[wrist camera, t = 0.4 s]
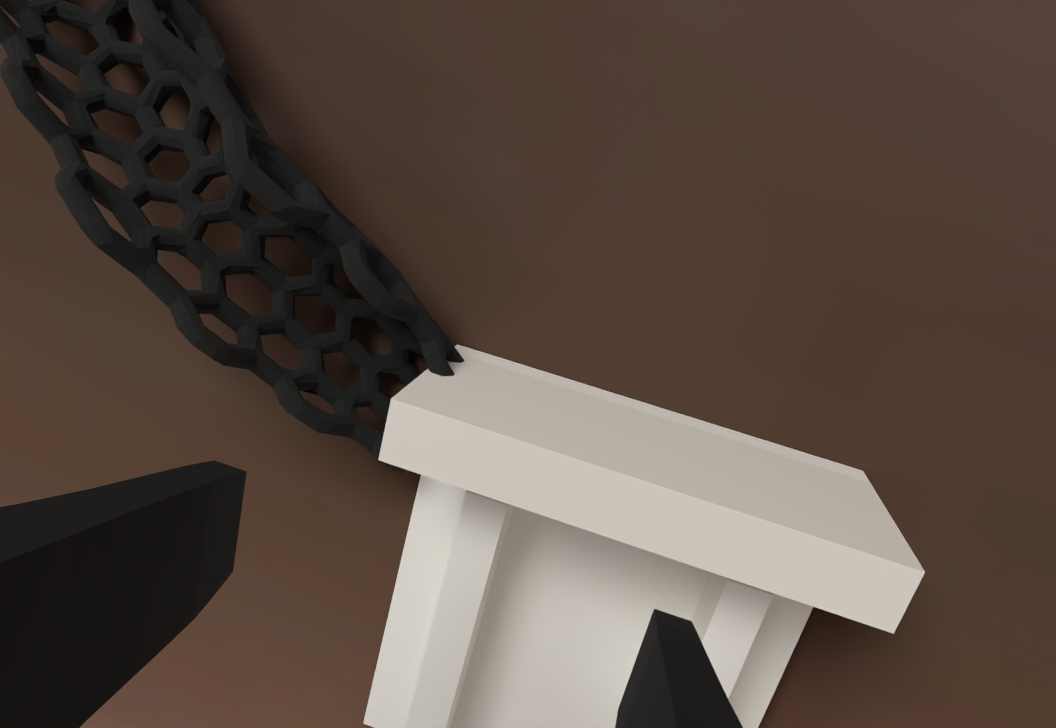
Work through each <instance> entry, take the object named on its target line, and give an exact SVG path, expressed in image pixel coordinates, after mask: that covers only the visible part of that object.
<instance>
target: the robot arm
mask: <svg viewBox="0 0 1056 728" xmlns="http://www.w3.org/2000/svg"><path fill="white" fill-rule="evenodd" d="M245 478H246V471H244V470H241V469H238V468H235V467H232V466H229V465H226V464H223V463H220V462H217V461H210V462H204V463H198V464H193V465H188V466H184V467H179V468H175V469H171V470H166V471H162V472H158V473H154V474H150V475H146V476H142V477H138V478H133V479H129V480H125V481H121V482H117V483H113V484H109V485H105V486H100V487H96V488H92V489H88V490H83V491H78V492H74V493H69V494H64V495H59V496H54V497H50V498H45V499H40V500H35V501H31V502H26V503H21V504H16V505H10V506H5V507H0V728H79V727H80V726H81V725H82V724H83V723H84V722H85V721H86V720H87V719H88V718H90V717H91V716H92V715H93V714H94V713H95V712H96V711H97V710H98V709H99V708H100V707H101V706H102V705H103V704H105V703H106V702H107V701H108V700H109V699H110V698H111V697H112V696H113V695H114V694H115V693H116V692H117V691H118V690H119V689H121V688H122V687H123V686H124V685H125V684H126V683H127V682H128V681H129V680H130V679H131V678H132V677H133V676H134V675H136V674H137V673H138V672H139V671H140V670H141V669H142V668H143V667H144V666H145V665H146V664H147V663H148V662H149V661H151V660H152V659H153V658H154V657H155V656H156V655H157V654H158V653H159V652H160V651H161V650H162V649H163V648H164V647H165V646H166V645H167V644H169V643H170V642H171V641H172V640H173V639H174V638H175V637H176V636H177V635H178V634H179V633H180V632H181V631H182V630H183V629H184V628H185V627H186V626H187V625H188V624H189V623H190V622H191V621H192V620H193V619H194V618H195V617H196V616H197V615H198V614H199V613H200V611H201V610H202V609H203V608H204V607H205V606H206V604H207V603H208V602H209V601H210V600H211V598H212V597H213V596H214V595H215V593H216V592H217V591H218V590H219V588H220V587H221V586H222V585H223V583H224V582H225V581H226V580H227V578H228V577H229V576H230V574H231V573H232V572H233V567H234V559H235V552H236V545H237V537H238V530H239V523H240V515H241V508H242V501H243V493H244V486H245ZM615 728H743V727H742V725H741V723H740V721H739V719H738V717H737V715H736V713H735V711H734V709H733V707H732V705H731V703H730V702H729V700H728V698H727V696H726V693H725V691H724V689H723V687H722V685H721V683H720V681H719V679H718V677H717V675H716V673H715V670H714V668H713V666H712V664H711V662H710V660H709V657H708V655H707V653H706V651H705V649H704V646H703V644H702V642H701V640H700V637H699V635H698V633H697V631H696V629H695V627H694V625H693V623H692V621H690V620H687V619H684V618H681V617H678V616H675V615H672V614H669V613H666V612H663V611H660V610H657V609H654V610H653V613H652V616H651V619H650V622H649V624H648V627H647V630H646V633H645V635H644V638H643V641H642V644H641V647H640V649H639V652H638V655H637V658H636V661H635V663H634V666H633V669H632V672H631V674H630V677H629V680H628V683H627V686H626V688H625V691H624V694H623V697H622V700H621V702H620V705H619V708H618V713H617V719H616V725H615Z"/></svg>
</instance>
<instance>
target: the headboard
mask: <svg viewBox="0 0 1056 728" xmlns="http://www.w3.org/2000/svg"><path fill="white" fill-rule="evenodd" d="M455 348H456V350H457V351H458V352H459V354H460V355H461V356H462V358H463V359H464V360H465V361H464V362H462V363H455V362H449V361H447V362H448V364H449V365H450V367H451V369H452V370H453V372H454V374H455V375H454V376H440V375H437V374H434V373H431V372H430V371H429V370H428V369H427V370H426V371H424V372H423V373H422V374H421V375H419V376H418V377H417V378H416V379H415V380H413V381H412V382H411V383H410V384H408V385H407V386H406V387H405V388H403V389H402V390H401V391H400V392H399V393H397V394H396V395H395V396H394V397H392V398H391V401H390V406H389V411H388V416H387V420H386V425H385V430H384V435H383V440H382V444H381V449H380V454H379V459H378V460H379V461H382V462H385V463H388V464H391V465H394V466H397V467H400V468H403V469H406V470H409V471H412V472H415V473H418V474H421V476H420V481H419V485H418V489H417V494H416V498H415V502H414V507H413V511H412V515H411V520H410V524H409V528H408V533H407V537H406V541H405V545H404V550H403V554H402V558H401V563H400V567H399V571H398V576H397V580H396V584H395V589H394V593H393V597H392V602H391V606H390V610H389V615H388V619H387V623H386V628H385V632H384V636H383V641H382V645H381V649H380V653H379V658H378V662H377V666H376V671H375V675H374V679H373V684H372V688H371V692H370V697H369V701H368V705H367V710H366V714H365V718H364V724H366V725H369V726H371V727H374V728H615V725H616V719H617V713H618V708H619V705H620V702H621V700H622V697H623V694H624V691H625V688H626V686H627V683H628V680H629V677H630V674H631V672H632V669H633V666H634V663H635V661H636V658H637V655H638V652H639V649H640V647H641V644H642V641H643V638H644V635H645V633H646V630H647V627H648V624H649V622H650V619H651V616H652V613H653V610H654V609H657V610H660V611H663V612H666V613H669V614H672V615H675V616H678V617H681V618H684V619H687V620H690V621H692V623H693V625H694V627H695V629H696V631H697V633H698V635H699V637H700V640H701V642H702V644H703V646H704V649H705V651H706V653H707V655H708V657H709V660H710V662H711V664H712V666H713V668H714V670H715V673H716V675H717V677H718V679H719V681H720V683H721V685H722V687H723V689H724V691H725V693H726V696H727V698H728V700H729V702H730V703H731V705H732V707H733V709H734V711H735V713H736V715H737V717H738V719H739V721H740V723H741V725H742V727H743V728H758V727H759V725H760V722H761V720H762V718H763V716H764V714H765V712H766V709H767V707H768V705H769V703H770V701H771V698H772V696H773V694H774V692H775V690H776V688H777V685H778V683H779V681H780V679H781V677H782V674H783V672H784V670H785V668H786V666H787V664H788V661H789V659H790V657H791V655H792V653H793V650H794V648H795V646H796V644H797V642H798V640H799V637H800V635H801V633H802V631H803V629H804V626H805V624H806V622H807V620H808V618H809V616H810V613H811V611H812V609H813V607H816V608H819V609H822V610H825V611H828V612H831V613H834V614H837V615H840V616H843V617H845V618H848V619H851V620H854V621H857V622H860V623H863V624H866V625H869V626H872V627H875V628H878V629H881V630H884V631H887V632H890V633H893V634H894V632H895V630H896V628H897V626H898V624H899V622H900V620H901V618H902V616H903V614H904V612H905V611H906V609H907V607H908V605H909V603H910V601H911V599H912V597H913V595H914V593H915V591H916V589H917V587H918V585H919V583H920V581H921V579H922V577H923V575H924V573H925V571H924V570H923V568H922V566H921V565H920V563H919V562H918V560H917V558H916V557H915V555H914V553H913V552H912V550H911V548H910V547H909V545H908V544H907V542H906V540H905V539H904V537H903V535H902V534H901V532H900V531H899V529H898V527H897V526H896V524H895V522H894V521H893V519H892V518H891V516H890V514H889V513H888V511H887V509H886V508H885V506H884V505H883V503H882V501H881V500H880V498H879V496H878V495H877V493H876V491H875V490H874V488H873V487H872V485H871V483H870V482H869V480H868V478H867V477H866V475H865V474H864V472H863V471H862V470H859V469H856V468H852V467H849V466H846V465H843V464H840V463H836V462H833V461H830V460H827V459H823V458H820V457H817V456H814V455H811V454H807V453H804V452H801V451H798V450H795V449H791V448H788V447H785V446H782V445H779V444H775V443H772V442H769V441H766V440H763V439H759V438H756V437H753V436H750V435H746V434H743V433H740V432H737V431H734V430H730V429H727V428H724V427H721V426H718V425H714V424H711V423H708V422H705V421H702V420H698V419H695V418H692V417H689V416H686V415H682V414H679V413H676V412H673V411H669V410H666V409H663V408H660V407H657V406H653V405H650V404H647V403H644V402H641V401H637V400H634V399H631V398H628V397H625V396H621V395H618V394H615V393H612V392H609V391H605V390H602V389H599V388H596V387H593V386H589V385H586V384H583V383H580V382H576V381H573V380H570V379H567V378H564V377H560V376H557V375H554V374H551V373H548V372H544V371H541V370H538V369H535V368H532V367H528V366H525V365H522V364H519V363H516V362H512V361H509V360H506V359H503V358H499V357H496V356H493V355H490V354H487V353H483V352H480V351H477V350H474V349H471V348H467V347H464V346H461V345H456V346H455Z"/></svg>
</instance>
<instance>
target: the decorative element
mask: <svg viewBox="0 0 1056 728" xmlns="http://www.w3.org/2000/svg"><path fill="white" fill-rule="evenodd" d="M0 7H1V8H3V9H4V10H5V11H6V12H7V13H8V14H10V15H11V16H12V17H13V18H14V19H15V20H17V22H18V24H19V26H20V28H21V29H19V28H18V27H17V26H16V25H15V24H14V23H13V22H12V20H11V19H10V18H9V17H8V16H7V15H6V14H5V13H4V11H3V10H2V9H1V8H0V43H1V44H2V45H3V47H4V49H5V51H6V53H7V55H8V57H9V58H6V59H4V61H3V63H2V65H1V77H2V79H3V81H4V83H5V85H6V87H7V89H8V91H9V93H10V95H11V97H12V99H13V101H14V103H15V105H16V106H17V108H18V109H19V110H20V111H21V112H22V113H23V114H24V116H25V117H26V118H27V119H28V120H29V121H30V122H31V124H32V125H33V126H34V127H35V128H36V129H37V130H38V131H39V133H40V134H41V135H42V136H43V137H44V138H45V139H46V141H47V142H48V143H49V144H50V145H51V147H52V149H53V152H54V154H55V156H56V158H57V161H58V163H59V165H60V167H61V169H60V171H59V172H58V173H57V174H56V175H55V184H56V189H57V191H58V193H59V194H60V196H61V197H62V199H63V201H64V202H65V204H66V205H67V207H68V209H69V210H70V212H71V213H72V215H73V217H74V218H75V220H76V222H77V223H78V225H79V226H80V228H81V229H82V230H83V231H84V233H85V234H86V235H87V237H88V238H89V239H90V240H91V242H92V243H93V244H95V245H96V246H97V247H98V248H99V249H101V250H102V251H103V252H105V253H106V254H107V255H109V256H110V257H111V258H113V259H114V260H115V261H117V262H118V263H119V264H121V265H122V266H123V267H125V268H126V269H127V270H129V271H130V272H131V273H133V274H134V275H135V276H137V277H138V278H139V279H140V280H141V281H142V282H143V283H144V284H145V285H146V286H147V287H148V288H149V289H150V290H151V291H152V292H153V293H154V294H155V295H156V296H157V297H158V298H159V299H160V300H161V301H162V302H163V303H164V304H165V305H166V306H168V307H169V308H170V311H171V313H172V316H173V318H174V321H175V323H176V326H177V328H178V329H179V330H180V332H181V333H182V334H183V335H184V336H185V337H186V339H187V340H188V341H189V342H190V343H191V344H192V345H193V346H195V347H196V348H198V349H199V350H200V351H202V352H203V353H205V354H206V355H208V356H209V357H211V358H212V359H213V360H215V361H217V362H219V363H220V364H222V365H225V366H231V367H237V368H242V369H248V370H250V371H251V372H253V373H254V374H255V375H257V376H258V377H259V378H261V379H262V380H263V381H265V382H266V383H267V384H269V385H270V386H271V387H273V389H274V391H275V393H276V395H277V398H278V400H279V402H280V404H281V405H282V406H283V408H284V409H285V410H286V411H287V412H288V413H290V414H291V415H293V416H294V417H296V418H297V419H299V420H300V421H302V422H303V423H305V424H306V425H308V426H310V427H311V428H313V429H314V430H316V431H317V432H319V433H326V434H332V435H339V436H346V437H350V438H351V439H353V440H355V441H357V442H358V443H360V444H361V445H363V446H365V447H366V448H367V449H368V450H369V451H370V452H371V453H372V454H373V455H374V456H376V457H377V458H378V459H379V454H380V449H381V444H382V440H383V435H384V432H380V431H377V430H376V429H374V428H373V427H371V426H369V425H368V424H366V423H365V422H363V421H361V420H360V419H359V417H358V413H357V410H356V407H367V406H368V407H369V408H370V409H371V410H372V411H374V412H375V413H376V414H377V415H378V416H380V417H381V418H382V419H383V420H384V421H386V420H387V416H388V411H389V406H390V401H391V399H390V398H389V397H387V396H386V395H385V394H384V393H383V392H382V391H381V377H380V374H393V375H395V376H397V377H399V378H400V380H401V381H402V382H403V383H404V385H405V386H407V385H408V384H410V383H411V382H412V381H413V380H415V379H416V378H417V377H418V376H419V375H421V373H420V372H419V371H418V370H417V369H416V368H415V366H414V365H413V364H412V363H411V351H413V352H415V353H417V354H420V355H422V356H424V358H425V361H426V364H427V367H428V370H429V371H430V372H431V373H434V374H437V375H440V376H454V375H455V374H454V372H453V370H452V369H451V367H450V365H449V364H448V362H447V361H449V362H455V363H462V362H464V361H465V360H464V359H463V358H462V356H461V355H460V354H459V352H458V351H457V350H456V348H455V347H454V345H453V344H452V343H451V341H450V340H449V339H448V337H447V336H446V335H445V333H444V332H443V331H442V330H441V328H440V327H439V326H438V325H437V323H436V322H435V321H434V320H433V319H432V317H431V316H430V315H429V314H428V313H427V311H426V310H425V309H424V308H423V306H422V305H421V303H420V302H419V300H418V299H417V297H416V296H415V294H414V292H413V291H412V289H411V287H410V286H409V284H408V283H407V282H406V280H405V279H404V277H403V276H402V275H401V273H400V272H399V271H398V269H397V268H396V267H395V266H394V265H393V264H392V263H391V262H390V260H389V259H388V258H387V257H386V256H385V255H384V254H383V252H382V251H381V250H380V249H379V248H378V247H377V246H376V245H375V244H374V243H373V242H372V241H371V240H370V239H369V238H368V237H367V236H366V235H365V234H363V233H362V232H361V231H360V230H359V229H358V228H357V227H356V226H355V225H354V224H353V223H352V222H351V221H350V220H349V219H348V218H347V217H346V216H345V215H344V214H343V213H342V212H341V211H340V210H339V209H337V208H336V207H335V206H334V205H333V203H332V202H331V201H330V200H329V199H328V198H327V197H326V196H325V194H324V193H323V192H322V191H321V190H320V189H319V188H318V186H317V185H316V184H315V183H314V182H313V181H312V180H311V179H310V178H309V177H308V176H307V175H306V174H305V173H304V171H303V170H302V169H301V168H300V167H299V166H298V165H297V164H296V163H295V162H294V161H293V160H292V159H291V158H290V157H289V156H288V155H287V154H286V153H285V152H284V151H283V150H282V149H281V148H280V147H279V146H278V145H277V144H276V143H275V142H274V141H273V140H272V139H271V138H270V137H269V135H268V134H267V132H266V130H265V128H264V127H263V125H262V123H261V121H260V120H259V118H258V116H257V114H256V113H255V111H254V109H253V107H252V106H251V104H250V102H249V100H248V99H247V97H246V95H245V94H244V92H243V90H242V89H241V87H240V85H239V83H238V82H237V80H236V78H235V77H234V75H233V72H232V70H231V67H230V64H229V62H228V59H227V57H226V54H225V52H224V50H223V48H222V46H221V44H220V42H219V40H218V38H217V36H216V34H215V32H214V30H213V29H212V27H211V25H210V23H209V21H208V20H207V18H206V16H205V14H204V12H203V10H202V8H201V6H200V5H199V3H198V1H197V0H104V1H103V3H102V4H101V5H100V6H99V8H98V9H97V10H96V11H95V12H93V11H91V10H88V9H85V8H83V7H80V6H77V5H75V4H72V3H69V2H67V1H66V0H34V1H30V2H29V1H28V0H0ZM128 12H129V13H130V15H131V17H132V19H133V21H134V23H135V25H136V27H137V29H138V31H139V33H140V34H141V36H142V37H143V42H142V45H139V44H134V43H128V42H123V41H121V39H120V38H119V36H118V34H117V32H116V30H115V29H116V27H117V26H118V25H119V23H120V22H121V21H122V19H123V18H124V17H125V15H126V14H127V13H128ZM56 20H58V21H60V22H63V23H66V24H68V25H71V26H73V27H76V28H78V29H81V30H84V31H86V32H89V33H91V34H93V35H94V37H95V39H96V40H97V42H98V44H99V47H98V48H96V49H95V50H94V51H92V52H91V53H89V54H88V55H86V56H85V55H83V54H82V53H80V52H78V51H76V50H74V49H73V48H71V47H69V46H67V45H65V44H64V43H62V42H60V41H58V40H57V39H55V38H54V37H53V36H52V35H51V34H50V33H49V31H48V29H47V27H46V25H45V23H49V22H52V21H56ZM173 28H174V29H175V31H176V33H177V34H178V36H179V39H178V38H177V37H176V36H175V35H173V34H172V33H171V31H172V29H173ZM35 54H39V55H41V56H43V57H45V58H47V59H49V60H50V61H52V62H54V63H56V64H58V65H59V66H61V67H63V68H65V69H67V70H69V71H70V72H72V73H74V74H76V75H77V76H78V77H80V79H81V81H82V83H83V85H84V87H85V90H82V91H80V92H77V93H74V92H72V91H71V90H70V89H69V88H68V87H66V86H65V85H64V84H63V83H62V82H60V81H59V80H58V79H57V78H56V77H54V76H53V75H52V74H51V73H50V72H48V71H47V70H46V69H45V68H44V67H42V66H41V65H40V63H39V61H38V59H37V57H36V55H35ZM119 63H121V64H127V65H133V66H139V67H144V68H145V70H146V72H147V74H148V76H149V78H150V81H149V83H148V84H147V86H146V87H145V89H144V90H143V92H142V93H141V94H140V96H139V97H136V96H133V95H130V94H127V93H124V92H121V91H118V90H115V89H113V88H112V87H111V86H110V85H109V84H108V82H107V80H106V78H105V76H104V74H105V73H106V72H108V71H109V70H110V69H112V68H113V67H115V66H116V65H118V64H119ZM167 63H168V64H169V65H170V66H171V67H172V68H174V69H175V70H170V69H169V67H168V65H167ZM36 90H37V91H38V92H39V93H40V94H41V95H43V96H44V97H45V98H46V99H48V100H49V101H50V102H51V103H52V104H54V105H55V106H56V107H57V108H59V109H60V110H61V111H62V112H63V113H64V116H65V118H66V120H67V122H68V125H69V127H68V126H67V125H66V124H64V123H63V122H62V121H61V120H60V119H59V118H58V117H57V116H56V114H55V113H54V112H53V111H52V110H51V109H50V108H49V107H48V105H47V104H46V103H45V102H44V101H43V100H42V99H41V98H40V96H39V95H38V94H37V91H36ZM178 92H186V94H187V96H188V98H189V100H190V111H189V115H188V118H187V121H186V124H185V127H184V131H182V130H176V129H171V128H166V127H165V125H164V123H163V120H162V118H161V116H160V114H159V113H160V111H161V110H162V108H163V106H164V105H165V103H166V101H167V100H168V98H169V97H170V96H171V94H172V93H178ZM102 109H106V110H110V111H113V112H116V113H119V114H122V115H126V116H129V117H132V118H135V119H137V121H138V123H139V125H140V128H141V130H142V132H143V134H142V135H140V136H139V137H138V138H137V139H136V140H135V141H134V142H133V143H132V144H131V145H130V146H129V145H127V144H125V143H123V142H121V141H120V140H118V139H116V138H114V137H112V136H110V135H108V134H107V133H105V132H103V131H101V130H100V129H99V127H98V126H97V124H96V123H95V121H94V119H93V118H92V116H91V114H92V113H95V112H97V111H100V110H102ZM214 118H216V120H217V121H218V123H219V124H220V126H221V130H222V136H221V143H220V151H219V153H216V154H211V155H210V152H209V150H208V147H207V145H206V142H207V138H208V135H209V132H210V128H211V125H212V122H213V120H214ZM82 149H83V150H87V151H90V152H94V153H97V154H101V155H103V156H105V157H106V158H108V159H110V160H112V161H113V162H115V163H117V164H119V165H120V166H122V167H123V169H124V172H125V174H126V176H127V179H128V181H129V183H130V184H128V185H127V186H125V187H124V188H122V189H120V188H118V187H117V186H116V185H114V184H113V183H111V182H110V181H109V180H107V179H106V178H105V177H103V176H102V175H101V174H99V173H98V172H97V171H95V170H94V169H92V168H91V167H90V166H89V164H88V162H87V160H86V158H85V156H84V154H83V152H82ZM162 150H169V151H176V152H183V153H185V154H186V156H187V159H188V161H189V163H190V165H191V167H190V168H189V169H188V171H187V172H186V173H185V175H184V176H183V177H182V178H181V180H180V181H179V182H174V181H168V180H161V179H155V178H154V176H153V174H152V172H151V170H150V168H149V165H148V163H149V162H150V161H151V160H152V159H153V158H154V157H155V156H156V155H157V154H158V153H159V152H160V151H162ZM223 175H227V177H228V178H229V180H230V182H229V186H228V189H227V192H226V195H225V199H222V200H214V201H207V202H204V201H203V199H202V198H201V196H200V193H201V192H202V191H203V190H204V189H205V187H206V186H207V185H208V184H209V183H210V182H211V180H212V179H213V178H216V177H220V176H223ZM251 195H252V196H253V197H254V198H255V199H256V200H257V201H258V202H259V203H261V204H262V205H263V206H264V207H265V208H266V209H267V210H268V211H269V212H271V213H272V214H273V215H274V216H257V215H256V214H255V213H254V212H253V211H252V210H251V209H250V208H249V207H247V206H248V203H249V200H250V197H251ZM91 197H92V198H93V199H94V200H96V201H97V202H98V203H100V204H101V205H102V206H104V207H105V208H107V209H108V210H109V211H111V212H112V213H113V215H114V216H115V217H116V219H117V220H118V221H119V223H120V224H121V226H122V227H123V228H124V230H125V231H126V233H127V234H128V235H129V237H130V238H131V242H130V241H128V240H127V239H126V238H124V237H123V236H122V235H120V234H119V233H118V232H116V231H115V230H114V229H112V228H111V227H110V226H109V224H108V223H107V221H106V220H105V218H104V217H103V215H102V214H101V212H100V211H99V209H98V208H97V206H96V205H95V203H94V202H93V200H92V198H91ZM150 200H153V201H160V202H168V203H175V204H178V205H179V207H180V208H181V209H182V210H183V211H184V213H185V214H186V216H185V218H184V221H183V224H182V226H181V229H180V230H175V229H169V228H163V227H157V226H152V224H151V223H150V222H149V220H148V219H147V217H146V216H145V215H144V213H143V212H142V211H141V209H140V208H141V207H142V206H143V205H145V204H146V203H147V202H149V201H150ZM231 220H232V221H233V222H234V223H235V224H236V225H237V226H238V227H239V228H240V229H241V230H243V232H242V252H235V253H226V254H215V253H214V252H213V251H212V250H210V249H209V248H208V247H207V246H206V245H205V244H204V243H203V242H202V241H201V239H202V237H203V235H204V233H205V230H206V228H207V226H208V224H210V223H217V222H224V221H231ZM311 227H312V228H315V229H316V230H317V231H318V232H320V233H321V234H322V235H323V236H324V237H325V238H326V239H327V240H328V241H330V242H331V243H328V242H327V241H325V240H324V239H323V238H322V237H321V236H320V235H319V234H318V233H316V232H315V231H314V230H313V229H312V228H311ZM265 237H290V238H291V239H292V240H293V241H294V242H295V243H296V244H298V245H299V246H300V247H301V248H302V249H303V250H304V251H306V252H307V253H308V254H309V255H310V256H311V257H312V275H305V276H294V277H291V276H289V275H286V274H284V273H283V272H282V271H280V270H279V269H278V268H277V267H276V266H274V265H273V264H272V263H271V262H269V261H268V260H267V259H266V258H265V257H264V255H265ZM158 250H164V251H171V252H177V253H179V254H180V255H182V256H184V257H186V258H187V259H188V260H189V261H190V262H191V263H192V264H193V265H194V266H196V267H197V268H198V269H199V270H200V271H201V282H202V290H185V289H184V288H183V287H182V286H181V285H180V284H179V283H178V282H177V281H176V280H175V279H174V278H173V277H172V276H171V275H170V274H169V273H168V272H167V271H166V270H165V269H164V268H163V267H162V266H161V265H160V264H159V263H158V261H157V252H158ZM334 265H340V266H344V271H345V273H346V275H347V277H348V278H349V280H350V282H351V283H352V284H353V286H354V287H355V289H356V290H357V291H358V292H359V293H360V294H361V296H362V297H363V298H364V299H365V300H360V299H355V298H351V297H349V296H348V295H347V294H346V293H345V292H344V291H343V290H342V289H341V288H339V287H338V286H337V285H336V284H335V283H334V282H333V267H334ZM242 273H248V274H250V275H253V276H254V277H256V278H257V279H258V280H259V281H260V282H262V283H263V284H264V285H265V286H267V287H268V288H269V289H270V290H271V291H272V308H273V313H268V314H258V315H250V314H248V313H247V312H246V311H245V310H243V309H242V308H241V307H239V306H238V305H237V304H236V303H234V302H233V301H232V300H231V299H229V298H228V297H227V294H226V280H225V275H233V274H242ZM316 295H318V296H319V297H320V298H321V299H323V300H324V301H325V302H326V303H327V304H328V305H329V306H330V307H331V308H332V309H333V310H334V311H335V312H336V324H335V332H331V333H322V334H313V333H312V332H311V331H310V330H308V329H307V328H306V327H305V326H304V325H302V324H301V323H300V322H299V321H298V320H296V319H295V318H294V308H295V296H316ZM199 313H202V314H213V315H214V316H215V317H217V318H218V319H219V320H221V321H222V322H223V323H225V324H226V325H227V326H229V327H230V328H231V329H233V330H234V331H235V332H236V335H237V341H238V345H235V344H228V343H226V342H225V341H223V340H222V339H221V338H219V337H218V336H217V335H216V334H214V333H213V332H212V331H210V330H209V329H208V328H207V327H205V326H204V325H203V322H202V320H201V317H200V315H199ZM356 319H361V320H374V321H375V322H376V323H377V324H378V326H379V327H380V328H381V329H382V330H383V331H384V332H385V333H386V335H387V336H388V337H389V338H390V339H391V349H392V352H391V355H379V354H373V353H372V352H371V351H370V350H368V349H367V348H366V347H365V346H364V345H363V344H362V343H361V342H360V341H359V340H358V339H357V338H356ZM402 321H403V322H404V323H405V324H406V325H407V326H408V327H409V329H408V328H407V327H406V326H405V325H404V324H403V322H402ZM275 333H280V334H282V335H283V336H284V337H285V338H286V339H288V340H289V341H290V342H291V343H292V344H293V345H295V346H296V347H297V348H298V349H299V350H301V358H302V368H303V369H300V370H287V369H284V368H282V367H281V366H279V365H278V364H277V363H276V362H275V361H273V360H272V359H271V358H270V357H269V356H267V355H266V354H265V353H264V352H263V347H262V342H261V337H260V335H267V334H275ZM333 352H342V353H343V354H345V355H346V356H347V357H348V358H349V359H350V360H351V361H352V362H353V363H354V364H355V365H356V366H357V367H358V368H359V369H360V382H361V388H347V389H345V388H344V387H342V386H341V385H340V384H338V383H337V382H336V381H334V380H333V379H332V378H330V377H329V376H328V375H326V374H325V371H324V363H323V356H322V354H324V353H333ZM299 390H300V391H304V392H309V393H313V394H317V395H319V396H321V397H322V398H323V399H325V400H326V401H327V402H329V403H330V404H331V405H332V406H333V409H334V412H335V414H329V413H326V412H325V411H323V410H321V409H320V408H318V407H316V406H315V405H313V404H312V403H310V402H308V401H307V400H305V399H304V398H302V396H301V394H300V392H299ZM381 462H382V461H381ZM382 463H384V464H385V465H387V466H388V467H389V468H391V469H392V470H395V471H397V472H400V473H401V472H403V471H404V470H406V469H403V468H400V467H397V466H394V465H391V464H388V463H385V462H382Z"/></svg>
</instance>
